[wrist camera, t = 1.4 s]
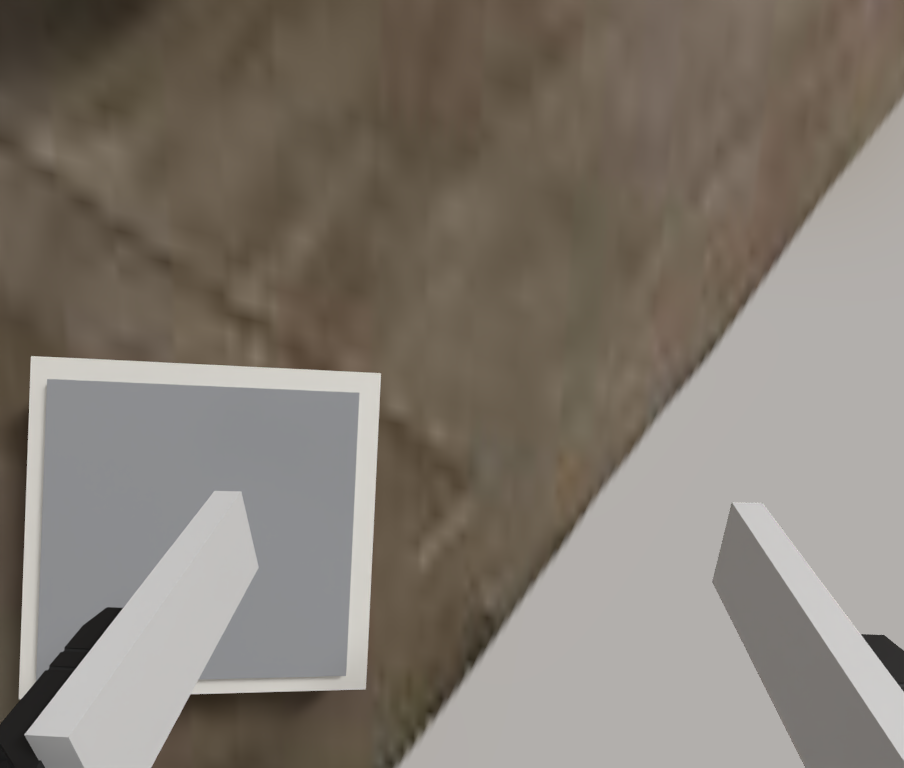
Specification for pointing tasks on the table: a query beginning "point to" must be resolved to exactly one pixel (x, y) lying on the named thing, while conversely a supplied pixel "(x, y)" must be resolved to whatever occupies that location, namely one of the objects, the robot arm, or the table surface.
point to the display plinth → (185, 492)
